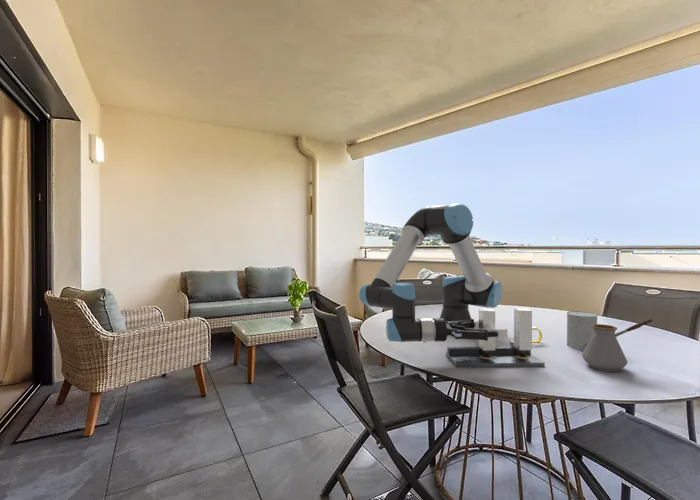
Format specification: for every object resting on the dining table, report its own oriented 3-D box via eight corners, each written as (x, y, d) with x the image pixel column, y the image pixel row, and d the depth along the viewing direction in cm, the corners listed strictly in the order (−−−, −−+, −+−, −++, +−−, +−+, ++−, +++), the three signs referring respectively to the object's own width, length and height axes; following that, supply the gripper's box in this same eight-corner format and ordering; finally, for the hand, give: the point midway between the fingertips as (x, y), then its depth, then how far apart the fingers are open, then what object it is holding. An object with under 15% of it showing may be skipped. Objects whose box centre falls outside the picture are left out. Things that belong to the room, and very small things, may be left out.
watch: (526, 343, 136) (525, 328, 135) (524, 341, 138) (523, 326, 138) (543, 343, 135) (542, 327, 135) (540, 340, 138) (539, 326, 137)
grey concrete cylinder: (564, 346, 130) (564, 314, 130) (569, 341, 137) (569, 310, 137) (594, 352, 124) (595, 317, 123) (599, 346, 131) (599, 313, 130)
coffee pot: (599, 374, 104) (599, 324, 103) (573, 361, 115) (574, 316, 115) (670, 373, 104) (671, 323, 103) (638, 360, 115) (638, 315, 115)
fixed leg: (508, 349, 123) (508, 306, 122) (519, 348, 123) (520, 306, 122) (519, 356, 115) (519, 310, 114) (531, 356, 114) (532, 310, 114)
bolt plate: (446, 354, 123) (445, 345, 122) (525, 353, 123) (525, 344, 122) (456, 367, 111) (456, 357, 110) (544, 366, 111) (544, 356, 110)
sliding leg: (474, 349, 123) (474, 306, 122) (485, 349, 123) (485, 306, 122) (483, 357, 115) (483, 311, 114) (495, 357, 115) (495, 311, 114)
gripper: (425, 332, 127) (487, 331, 127) (441, 351, 105) (515, 350, 105) (425, 311, 127) (487, 311, 127) (441, 327, 105) (515, 326, 105)
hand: (500, 329), depth 116 cm, fingers open, 9 cm apart
